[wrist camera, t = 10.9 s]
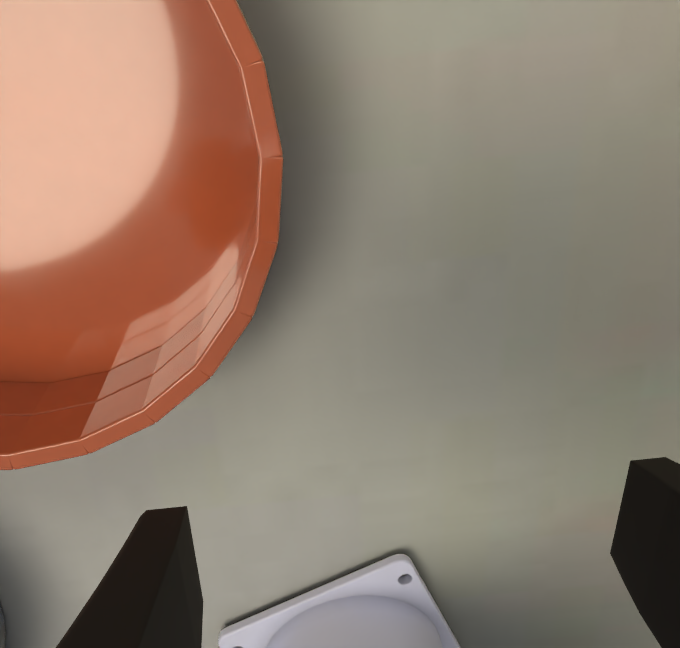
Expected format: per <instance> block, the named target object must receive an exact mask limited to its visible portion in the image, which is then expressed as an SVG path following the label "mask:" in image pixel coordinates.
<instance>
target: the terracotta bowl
mask: <svg viewBox="0 0 680 648" xmlns="http://www.w3.org/2000/svg"><path fill="white" fill-rule="evenodd" d="M282 175H283V151H282V146H281V142H280V137H279V132H278V127H277V122H276V117H275V112H274V107H273V102H272V97H271V92H270V88H269V83H268V78H267V73H266V68H265V63H264V59H263V57H262V53H261V51H260V48H259V46H258V44H257V42H256V40H255V38H254V36H253V34H252V31H251V29H250V27H249V25H248V23H247V21H246V19H245V16H244V14H243V12H242V10H241V8H240V6H239V4H238V2H237V0H0V470H13V469H21V468H25V467H30V466H35V465H40V464H44V463H49V462H54V461H59V460H64V459H68V458H73V457H78V456H83V455H87V454H88V453H93V452H95V451H97V450H99V449H101V448H103V447H106V446H108V445H110V444H112V443H114V442H116V441H118V440H121V439H123V438H125V437H127V436H129V435H131V434H133V433H136V432H138V431H140V430H142V429H144V428H146V427H148V426H151V425H153V424H154V423H155V422H158V421H159V420H160V419H161V418H163V417H164V416H165V415H166V414H167V413H169V412H170V411H171V410H172V409H174V408H175V407H176V406H177V405H178V404H180V403H181V402H182V401H183V400H184V399H186V398H187V397H188V396H189V395H190V394H192V393H193V392H194V391H195V390H197V389H198V388H199V387H200V386H201V385H203V384H204V383H205V382H206V381H207V380H209V379H210V377H211V376H212V375H213V374H214V373H215V372H216V370H217V369H218V367H219V366H220V364H221V363H222V361H223V360H224V359H225V357H226V356H227V354H228V353H229V351H230V350H231V349H232V347H233V346H234V344H235V343H236V341H237V340H238V339H239V337H240V336H241V334H242V333H243V331H244V330H245V328H246V327H247V326H248V324H249V323H250V321H251V320H252V316H253V315H254V314H255V311H256V308H257V305H258V302H259V299H260V296H261V293H262V291H263V288H264V285H265V282H266V279H267V276H268V273H269V270H270V267H271V264H272V261H273V258H274V255H275V252H276V249H277V247H278V241H279V229H280V211H281V193H282Z"/></svg>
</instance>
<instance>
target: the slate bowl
mask: <svg viewBox="0 0 680 648" xmlns="http://www.w3.org/2000/svg"><path fill="white" fill-rule="evenodd" d="M5 637H6V634H5V623H4V615H3V612H2V609H1V605H0V648H4V646H5Z"/></svg>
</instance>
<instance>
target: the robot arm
mask: <svg viewBox="0 0 680 648" xmlns="http://www.w3.org/2000/svg"><path fill="white" fill-rule="evenodd" d="M610 554H611V556H612V558H613V560H614V562H615V565H616V567H617V569H618V571H619V573H620V575H621V577H622V579H623V581H624V584H625V586H626V588H627V590H628V591H629V593H630V595H631V597H632V599H633V601H634V603H635V605H636V607H637V609H638V611H639V613H640V614H641V616H642V618H643V619H644V621H645V622H646V624H647V626H648V627H649V629H650V630H651V632H652V633H653V635H654V636H655V638H656V639H657V641H658V643H659V644H660V646H661V647H662V648H680V464H678V463H676V462H674V461H672V460H670V459H668V458H666V457H662V458H653V459H643V460H633V461H630V466H629V470H628V475H627V479H626V484H625V488H624V493H623V497H622V502H621V506H620V511H619V516H618V520H617V525H616V529H615V534H614V538H613V543H612V547H611V552H610ZM404 574H407V575H405V576H402V575H404ZM202 617H203V598H202V592H201V586H200V580H199V574H198V568H197V563H196V557H195V551H194V545H193V539H192V534H191V528H190V522H189V516H188V510H187V506H184V507H174V508H165V509H155V510H146V511H145V512H144V513H143V514H142V515H141V516H140V518H139V520H138V521H137V523H136V525H135V527H134V528H133V530H132V532H131V533H130V535H129V537H128V538H127V540H126V542H125V543H124V545H123V547H122V548H121V550H120V552H119V553H118V555H117V557H116V558H115V560H114V561H113V563H112V565H111V566H110V568H109V569H108V571H107V573H106V574H105V576H104V577H103V579H102V580H101V582H100V584H99V585H98V587H97V588H96V590H95V591H94V593H93V594H92V596H91V597H90V599H89V600H88V602H87V603H86V605H85V606H84V607H83V609H82V610H81V612H80V613H79V615H78V616H77V618H76V619H75V621H74V622H73V624H72V625H71V627H70V628H69V630H68V631H67V633H66V634H65V635H64V637H63V638H62V640H61V641H60V643H59V644H58V645H57V647H56V648H201V640H202ZM218 645H219V647H220V648H461V647H460V645H459V643H458V642H457V640H456V638H455V636H454V634H453V633H452V631H451V629H450V627H449V626H448V624H447V622H446V620H445V619H444V617H443V615H442V613H441V612H440V610H439V608H438V606H437V605H436V603H435V601H434V599H433V598H432V596H431V594H430V592H429V591H428V589H427V587H426V585H425V583H424V582H423V580H422V578H421V576H420V575H419V573H418V571H417V569H416V568H415V566H414V564H413V562H412V561H411V559H410V558H409V557H408V556H407V555H405V554H395V555H392V556H390V557H388V558H385V559H383V560H381V561H378V562H376V563H374V564H371V565H369V566H367V567H364V568H362V569H360V570H357V571H355V572H353V573H351V574H348V575H346V576H344V577H341V578H339V579H337V580H334V581H332V582H330V583H327V584H325V585H323V586H320V587H318V588H316V589H313V590H311V591H309V592H307V593H304V594H302V595H300V596H297V597H295V598H293V599H290V600H288V601H286V602H283V603H281V604H279V605H276V606H274V607H272V608H269V609H267V610H265V611H262V612H260V613H258V614H256V615H253V616H251V617H249V618H246V619H244V620H242V621H239V622H237V623H235V624H232V625H230V626H228V627H226V628H224V629H222V630H221V631H220V633H219V637H218Z"/></svg>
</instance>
